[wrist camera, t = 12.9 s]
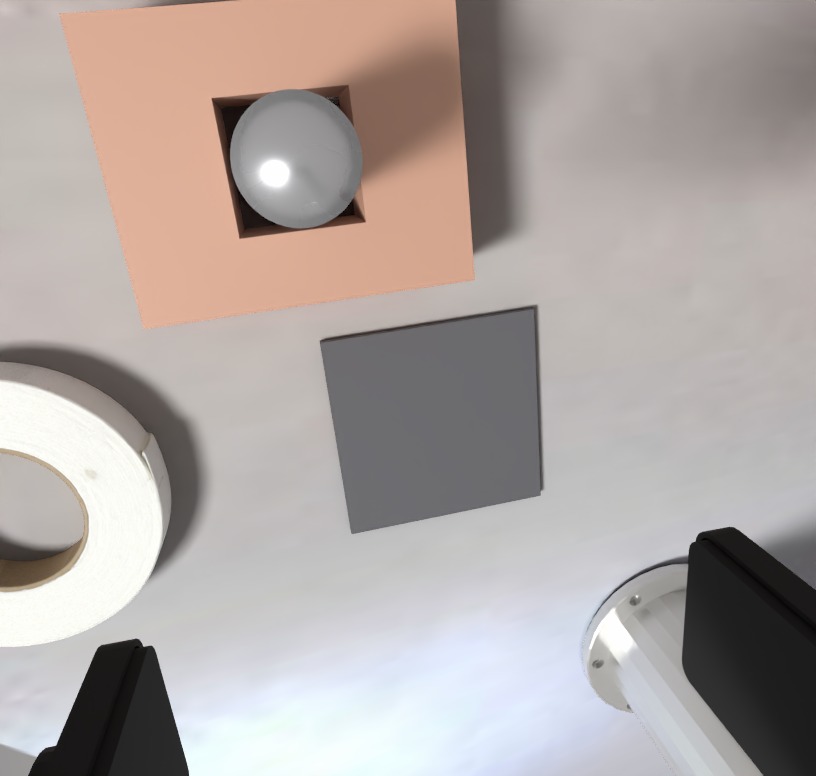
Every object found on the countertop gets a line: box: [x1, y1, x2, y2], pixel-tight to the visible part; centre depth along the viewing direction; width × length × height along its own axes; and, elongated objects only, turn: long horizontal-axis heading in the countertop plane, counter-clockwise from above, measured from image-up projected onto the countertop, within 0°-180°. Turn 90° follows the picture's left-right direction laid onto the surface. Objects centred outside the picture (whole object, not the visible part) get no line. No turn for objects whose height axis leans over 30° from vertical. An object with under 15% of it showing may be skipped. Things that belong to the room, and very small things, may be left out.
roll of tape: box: [0, 362, 171, 647], centre depth 32 cm, size 16×15×3 cm
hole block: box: [60, 0, 475, 329], centre depth 28 cm, size 15×12×4 cm
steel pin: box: [230, 89, 363, 228], centre depth 25 cm, size 4×4×12 cm
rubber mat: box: [320, 308, 541, 534], centre depth 36 cm, size 12×12×1 cm
